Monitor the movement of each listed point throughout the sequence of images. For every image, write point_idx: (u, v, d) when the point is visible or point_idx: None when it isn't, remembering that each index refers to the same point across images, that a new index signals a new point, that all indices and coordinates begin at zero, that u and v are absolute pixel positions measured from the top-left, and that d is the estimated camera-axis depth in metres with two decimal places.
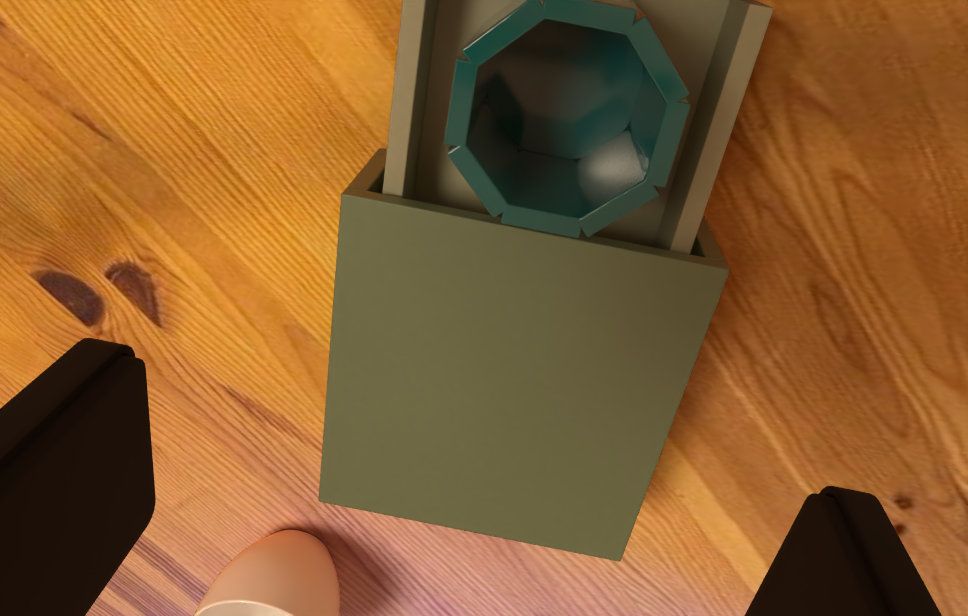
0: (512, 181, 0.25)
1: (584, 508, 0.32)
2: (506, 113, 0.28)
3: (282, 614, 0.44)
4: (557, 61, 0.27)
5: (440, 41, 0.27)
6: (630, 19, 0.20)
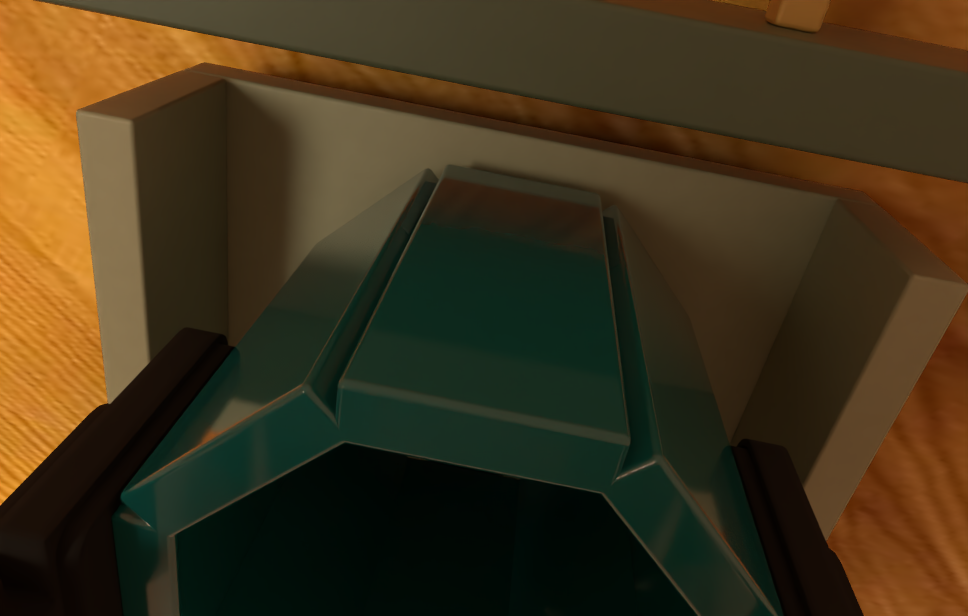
0: None
1: None
2: None
3: None
4: None
5: (242, 263, 0.14)
6: (611, 461, 0.06)
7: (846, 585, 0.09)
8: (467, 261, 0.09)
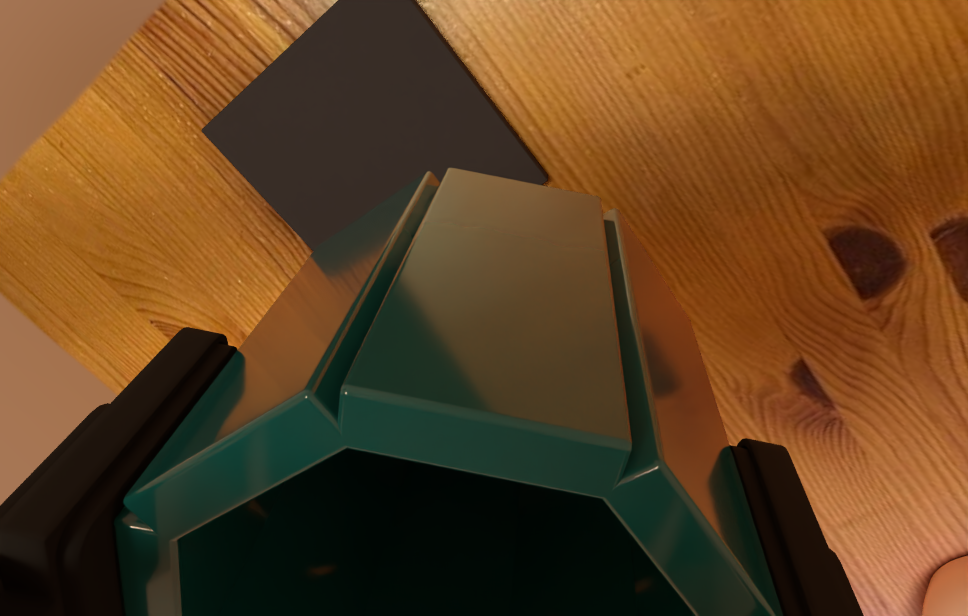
0: None
1: None
2: None
3: None
4: None
5: None
6: (613, 466, 0.06)
7: (845, 585, 0.09)
8: (468, 265, 0.09)
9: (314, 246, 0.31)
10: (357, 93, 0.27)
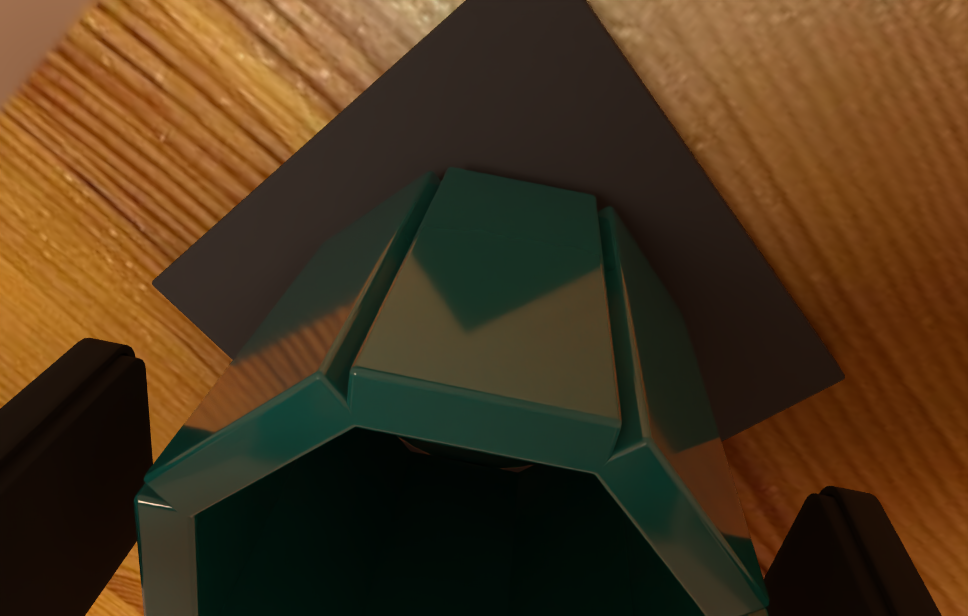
0: (362, 612, 0.12)
1: None
2: None
3: None
4: None
5: None
6: (604, 443, 0.07)
7: None
8: (469, 259, 0.09)
9: None
10: None
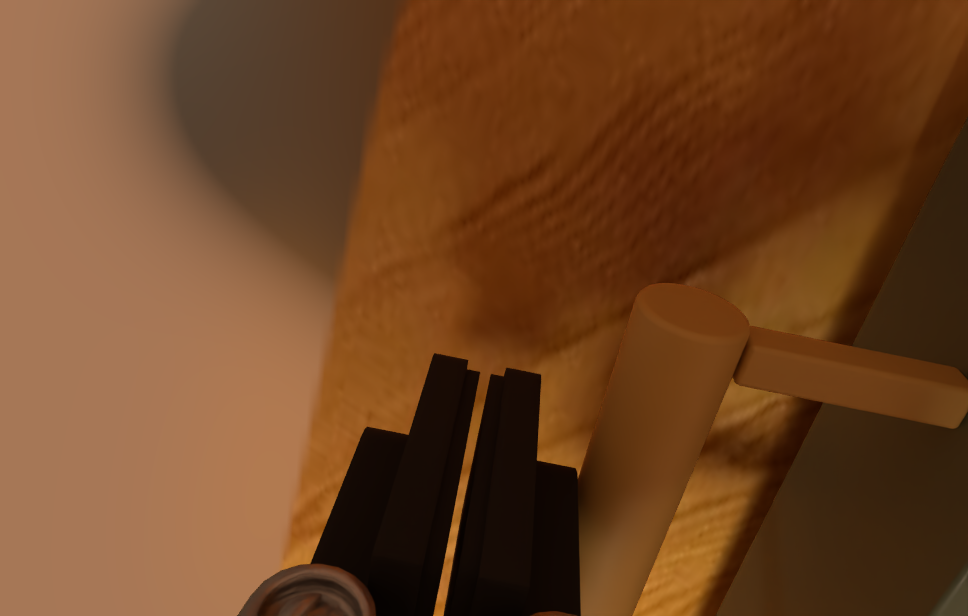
0: None
1: None
2: None
3: None
4: None
5: None
6: None
7: (576, 498, 0.09)
8: None
9: None
10: None
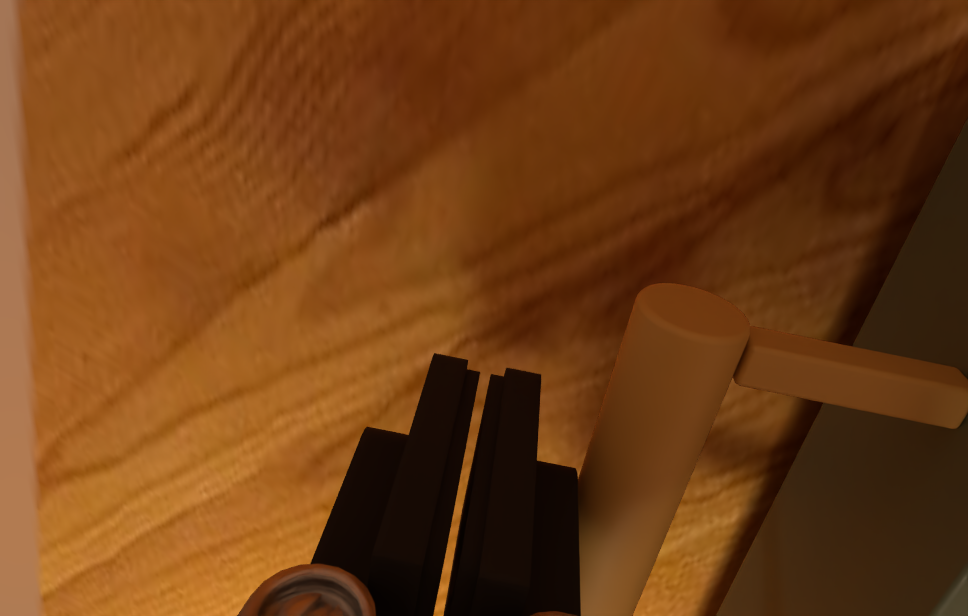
0: None
1: None
2: None
3: None
4: None
5: None
6: None
7: (576, 498, 0.09)
8: None
9: None
10: None
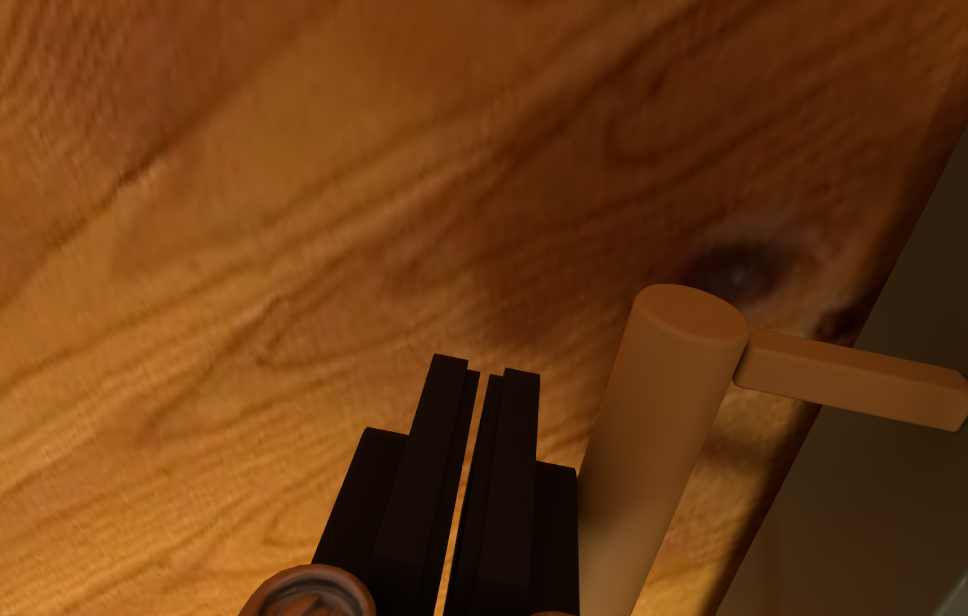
0: None
1: None
2: None
3: None
4: None
5: None
6: None
7: (575, 498, 0.09)
8: None
9: None
10: None
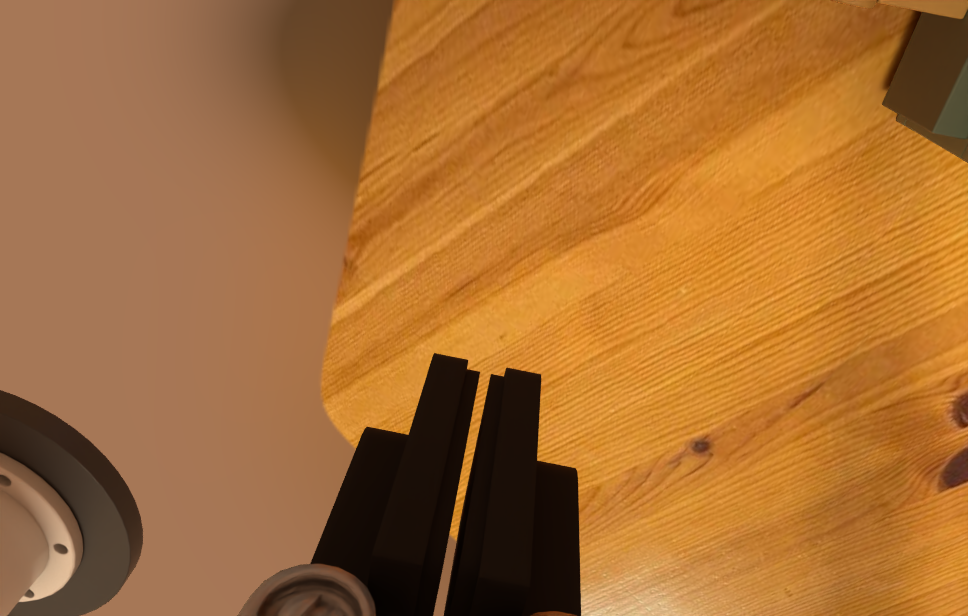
0: None
1: None
2: None
3: None
4: None
5: None
6: None
7: (576, 498, 0.09)
8: None
9: None
10: None
